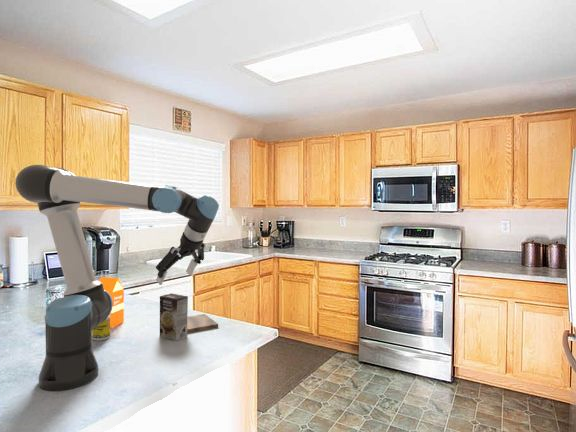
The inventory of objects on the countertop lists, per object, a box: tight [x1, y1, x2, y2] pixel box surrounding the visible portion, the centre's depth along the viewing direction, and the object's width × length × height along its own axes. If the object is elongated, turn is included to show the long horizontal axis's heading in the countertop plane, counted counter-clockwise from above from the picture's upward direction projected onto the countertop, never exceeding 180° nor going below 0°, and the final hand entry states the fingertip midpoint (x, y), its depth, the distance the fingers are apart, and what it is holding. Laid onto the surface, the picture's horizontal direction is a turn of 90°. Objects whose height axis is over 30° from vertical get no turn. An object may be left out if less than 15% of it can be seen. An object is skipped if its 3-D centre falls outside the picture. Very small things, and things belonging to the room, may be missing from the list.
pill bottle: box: [92, 315, 111, 341], centre depth 140 cm, size 6×6×11 cm
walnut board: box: [187, 313, 219, 334], centre depth 156 cm, size 16×16×2 cm
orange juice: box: [98, 276, 125, 328], centre depth 157 cm, size 8×9×20 cm
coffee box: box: [159, 293, 189, 342], centre depth 142 cm, size 9×6×16 cm
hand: (174, 277), depth 137 cm, fingers open, 13 cm apart
